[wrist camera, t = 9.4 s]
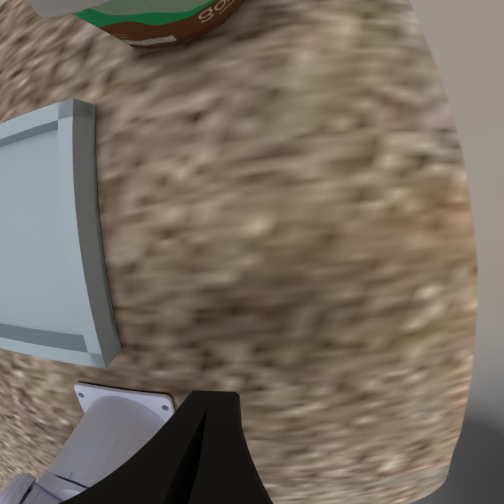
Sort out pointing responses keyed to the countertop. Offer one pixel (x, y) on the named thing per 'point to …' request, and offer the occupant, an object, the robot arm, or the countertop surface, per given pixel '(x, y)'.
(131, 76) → the countertop surface
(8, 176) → the open box
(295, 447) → the countertop surface
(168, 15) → the food container
